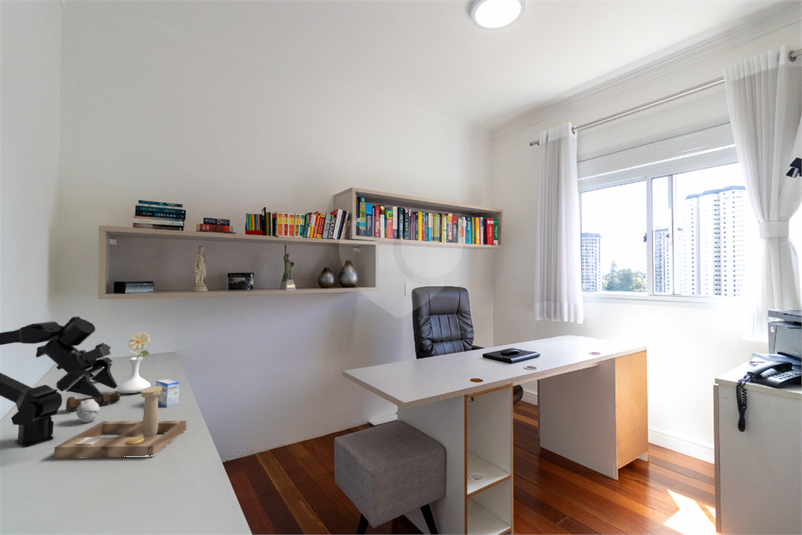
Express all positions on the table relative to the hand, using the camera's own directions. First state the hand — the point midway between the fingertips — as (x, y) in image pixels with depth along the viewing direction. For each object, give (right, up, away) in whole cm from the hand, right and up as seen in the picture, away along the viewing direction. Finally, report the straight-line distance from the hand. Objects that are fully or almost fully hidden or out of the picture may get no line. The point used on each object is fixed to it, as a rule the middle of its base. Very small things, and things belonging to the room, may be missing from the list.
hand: (108, 391), depth 113 cm
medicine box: (-1, -15, +30) cm, 34 cm away
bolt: (-25, -14, +25) cm, 38 cm away
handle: (+13, -14, -1) cm, 19 cm away
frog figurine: (-16, -14, +11) cm, 24 cm away
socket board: (+8, -14, -4) cm, 16 cm away
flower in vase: (-23, -15, +44) cm, 51 cm away
